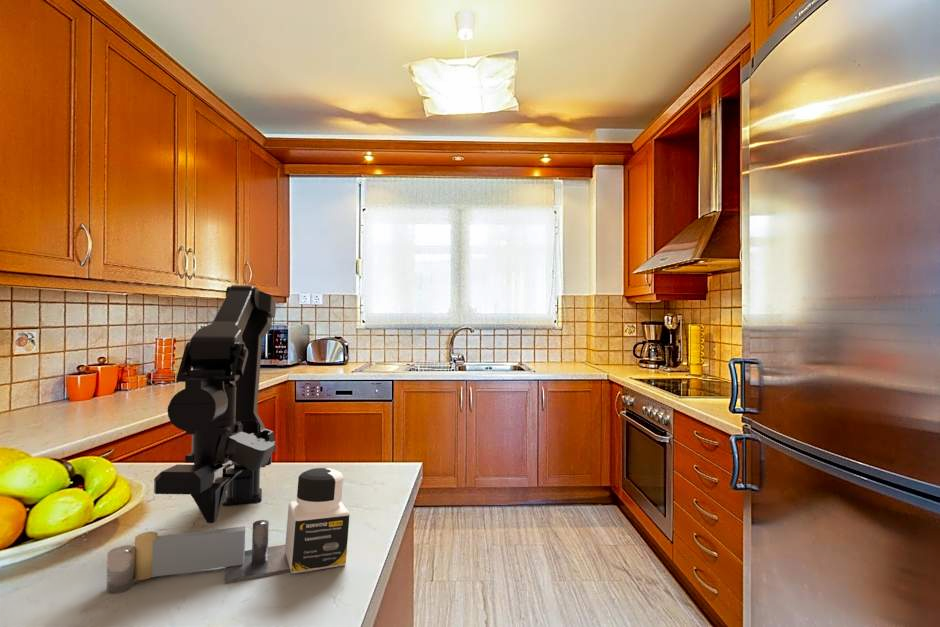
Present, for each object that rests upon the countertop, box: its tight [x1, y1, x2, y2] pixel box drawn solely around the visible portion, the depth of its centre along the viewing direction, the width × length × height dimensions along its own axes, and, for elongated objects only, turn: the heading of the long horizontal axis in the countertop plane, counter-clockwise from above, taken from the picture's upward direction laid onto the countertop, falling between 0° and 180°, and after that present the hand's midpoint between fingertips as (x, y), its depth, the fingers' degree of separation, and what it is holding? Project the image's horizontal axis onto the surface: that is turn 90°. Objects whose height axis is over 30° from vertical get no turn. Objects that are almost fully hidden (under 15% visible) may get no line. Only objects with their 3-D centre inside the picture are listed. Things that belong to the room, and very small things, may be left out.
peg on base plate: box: [224, 519, 291, 584], centre depth 66 cm, size 8×8×6 cm
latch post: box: [105, 544, 135, 594], centre depth 59 cm, size 3×3×4 cm
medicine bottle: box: [284, 467, 350, 574], centre depth 67 cm, size 7×7×12 cm
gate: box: [134, 526, 246, 581], centre depth 63 cm, size 13×2×5 cm, turn 109°
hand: (211, 522), depth 72 cm, fingers closed
